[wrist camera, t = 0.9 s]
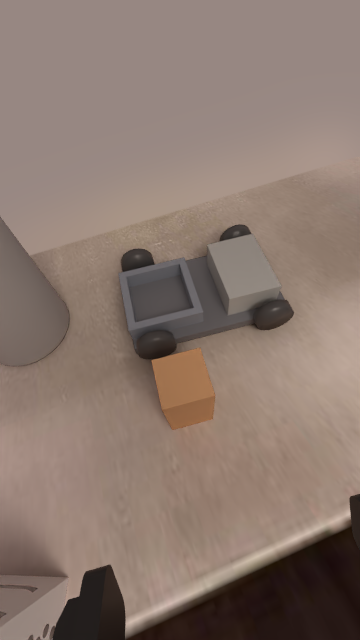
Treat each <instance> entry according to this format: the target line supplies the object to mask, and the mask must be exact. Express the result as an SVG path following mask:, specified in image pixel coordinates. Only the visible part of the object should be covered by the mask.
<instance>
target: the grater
mask: <svg viewBox="0 0 360 640" xmlns="http://www.w3.org/2000/svg"><path fill="white" fill-rule="evenodd" d="M68 578H69V577H45V576H18V575H0V585H20V586H32V587H36V588H38V589H36V590H35V591H34V592H33V593H32V592H30V591H29V590H27V589H12V588H0V611H1V612H4V613H7V614H5V615H4V616H3V617H2V618H0V640H28V638H29V636H30V635H32V634H33V640H36V639H37V638H38V637H40V640H50V639H49V635H50V631H51V629H52V627H53V626H55V627H56V623H57V621H58V619H59V617H60V615H61V613H62V611H63V609H64V604H65V597H66V591H67V585H68ZM46 624H49V630H48V633H47V636H46V637H45V638H43V631H44V628H45V626H46ZM52 639H53V638H52ZM52 639H51V640H52Z"/></svg>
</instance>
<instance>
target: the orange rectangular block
mask: <svg viewBox="0 0 360 640" xmlns="http://www.w3.org/2000/svg"><path fill="white" fill-rule="evenodd" d="M151 361H152V366H153V370H154V375H155V380H156V384H157V389H158V394H159V398H160V403H161V408H162V411H163V413H164V415H165V417H166V418H167V420H168V422H169V424H170V426H171V428H172V430H175V429H178V428H182V427H186V426H189V425H193V424H196V423H200V422H204V421H207V420H211V419H213V412H214V402H215V393H214V390H213V387H212V384H211V381H210V378H209V374H208V371H207V368H206V365H205V362H204V359H203V355H202V352H201V349H200V348H197V349H193V350H189V351H185V352H181V353H177V354H174V355H170V356H166V357H162V358H158V359H154V360H151Z"/></svg>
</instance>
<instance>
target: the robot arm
mask: <svg viewBox="0 0 360 640" xmlns="http://www.w3.org/2000/svg"><path fill="white" fill-rule="evenodd" d="M350 511H351V523H352V532H353V536H354V539H355V541H356V543H357V545H358V547H359V549H360V494H357V495H354V496H351V497H350ZM52 640H125V606H124V601H123V597H122V594H121V591H120V589H119V586H118V583H117V580H116V578H115V575H114V572H113V569H112V567H111V565H107V566H103V567H100V568H96V569H93V570H89V571H86V572H85V574H84V576H83V580H82V585H81V591H80V596H79V597H76V598H72V599H69V600H68V602H67V604H66V606H65V607H64V609H63V611H62V613H61V615H60V617H59V619H58V621H57V623H56V627H55V631H54V635H53V639H52Z"/></svg>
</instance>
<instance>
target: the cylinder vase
mask: <svg viewBox="0 0 360 640" xmlns="http://www.w3.org/2000/svg"><path fill="white" fill-rule="evenodd" d="M68 325H69V312H68V309H67V306H66V305H65V303H64V302H63V300H62V299H61V298H60V296H59V295H58V294H57V292H56V291H55V289H54V288H53V287H52V285H51V284H50V283H49V281H48V280H47V279H46V277H45V276H44V275H43V273H42V272H41V271H40V269H39V268H38V267H37V265H36V264H35V263H34V261H33V260H32V259H31V257H30V256H29V255H28V253H27V252H26V251H25V249H24V248H23V247H22V245H21V244H20V243H19V241H18V240H17V239H16V237H15V236H14V235H13V233H12V232H11V231H10V229H9V228H8V226H7V225H6V224H5V222H4V221H3V220H2V219H1V217H0V364H3V365H7V366H23V365H28V364H31V363H34V362H36V361H38V360H40V359H42V358H44V357H45V356H47V355H48V354H50V353H51V352H52V351H53V350H54V349H55V348H56V347H57V346H58V345H59V344H60V342H61V341H62V339H63V338H64V336H65V334H66V332H67V329H68Z"/></svg>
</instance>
